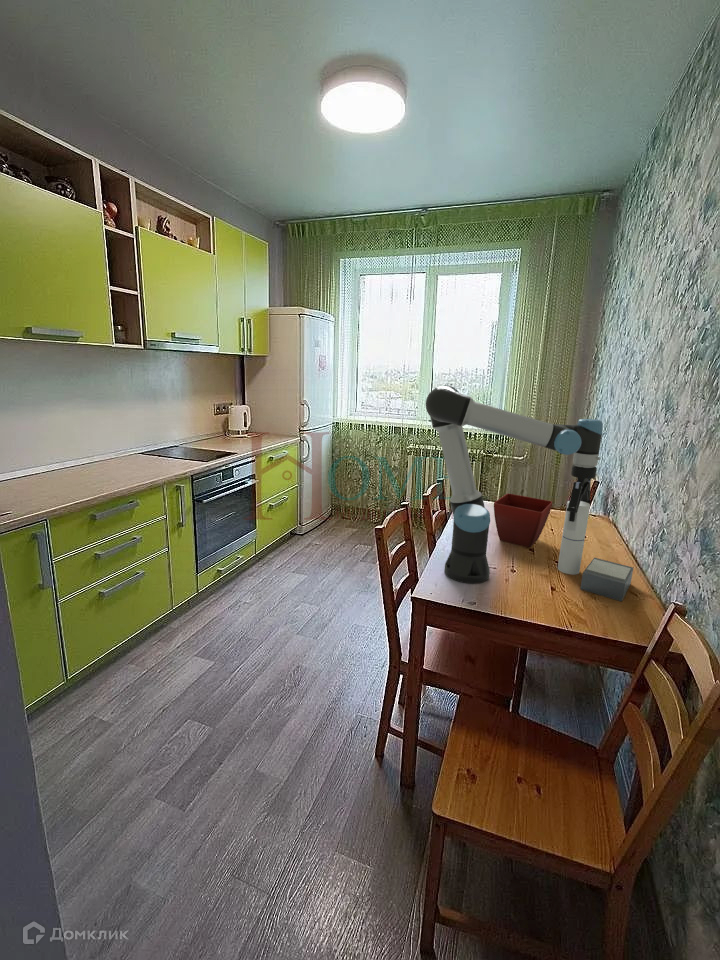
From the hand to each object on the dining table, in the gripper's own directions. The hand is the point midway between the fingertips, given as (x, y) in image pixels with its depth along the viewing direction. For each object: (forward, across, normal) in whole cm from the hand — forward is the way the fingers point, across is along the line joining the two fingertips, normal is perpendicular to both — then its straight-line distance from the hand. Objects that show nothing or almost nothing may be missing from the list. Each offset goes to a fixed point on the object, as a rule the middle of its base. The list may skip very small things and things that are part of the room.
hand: (576, 525), depth 155 cm
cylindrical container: (+17, 0, 0) cm, 17 cm away
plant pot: (+17, +17, +24) cm, 34 cm away
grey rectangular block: (+17, -5, -12) cm, 22 cm away
